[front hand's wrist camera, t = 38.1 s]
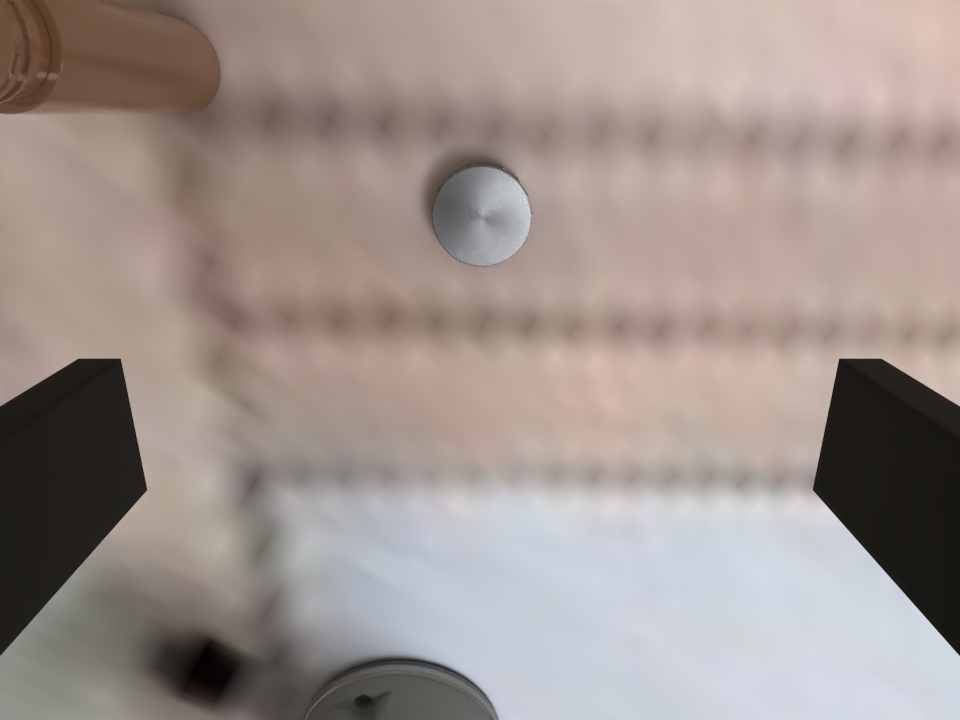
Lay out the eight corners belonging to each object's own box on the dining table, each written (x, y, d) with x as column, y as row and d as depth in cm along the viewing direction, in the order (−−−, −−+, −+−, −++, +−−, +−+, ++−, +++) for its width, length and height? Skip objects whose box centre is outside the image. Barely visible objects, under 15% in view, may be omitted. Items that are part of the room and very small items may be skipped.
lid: (530, 160, 36) (533, 163, 34) (529, 258, 38) (532, 266, 36) (432, 163, 36) (428, 165, 34) (436, 260, 38) (433, 268, 36)
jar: (121, 89, 35) (-144, 71, 20) (145, 1, 34) (-121, -88, 19) (205, 129, 36) (9, 140, 21) (232, 44, 34) (41, -9, 19)
